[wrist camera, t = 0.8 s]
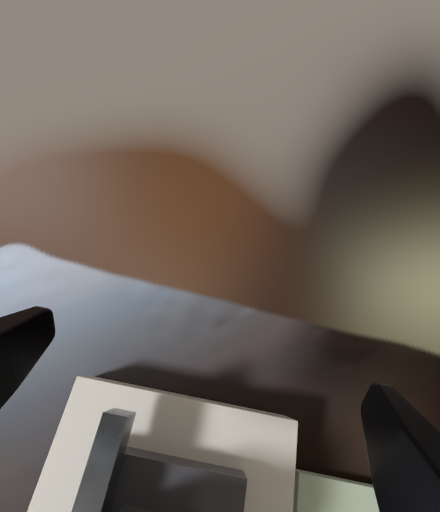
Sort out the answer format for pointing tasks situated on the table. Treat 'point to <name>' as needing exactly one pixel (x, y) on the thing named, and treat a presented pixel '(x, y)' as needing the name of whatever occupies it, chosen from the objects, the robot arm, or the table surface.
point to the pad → (331, 494)
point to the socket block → (173, 441)
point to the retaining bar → (104, 462)
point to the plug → (176, 485)
